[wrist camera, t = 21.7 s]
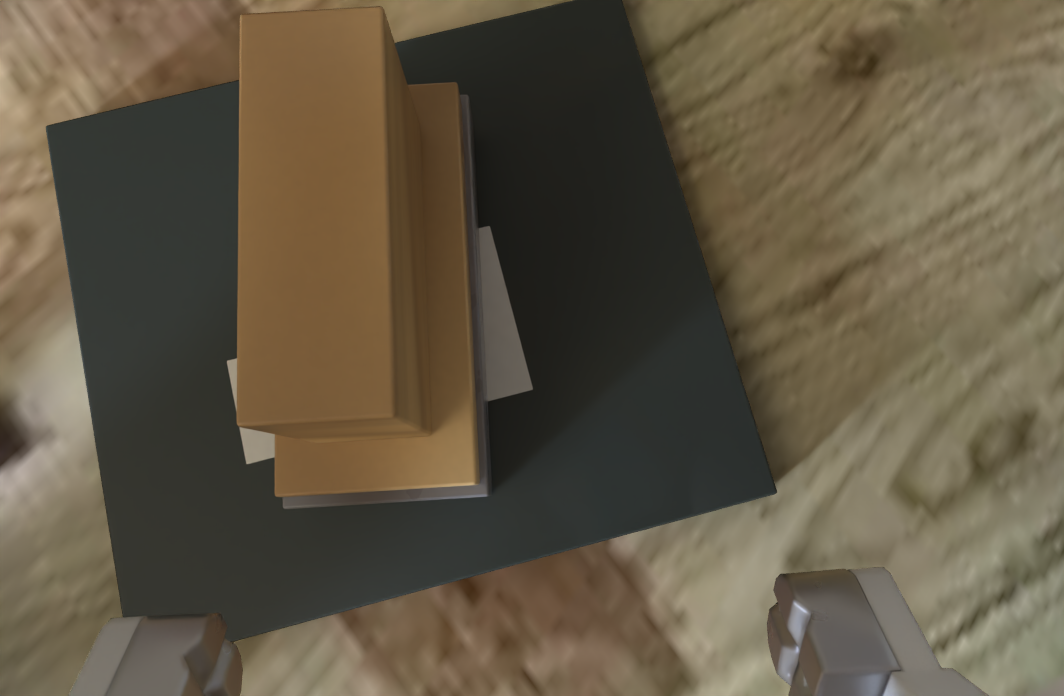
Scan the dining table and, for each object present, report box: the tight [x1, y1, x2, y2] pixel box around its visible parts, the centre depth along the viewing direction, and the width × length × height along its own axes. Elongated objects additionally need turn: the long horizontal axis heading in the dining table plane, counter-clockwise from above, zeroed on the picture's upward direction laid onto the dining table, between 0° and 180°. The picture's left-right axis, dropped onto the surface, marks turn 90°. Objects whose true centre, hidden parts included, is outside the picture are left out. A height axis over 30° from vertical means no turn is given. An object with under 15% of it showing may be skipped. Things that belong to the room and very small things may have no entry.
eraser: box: [237, 6, 492, 509], centre depth 18 cm, size 5×11×8 cm, turn 3°
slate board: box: [46, 0, 777, 642], centre depth 22 cm, size 18×16×1 cm
